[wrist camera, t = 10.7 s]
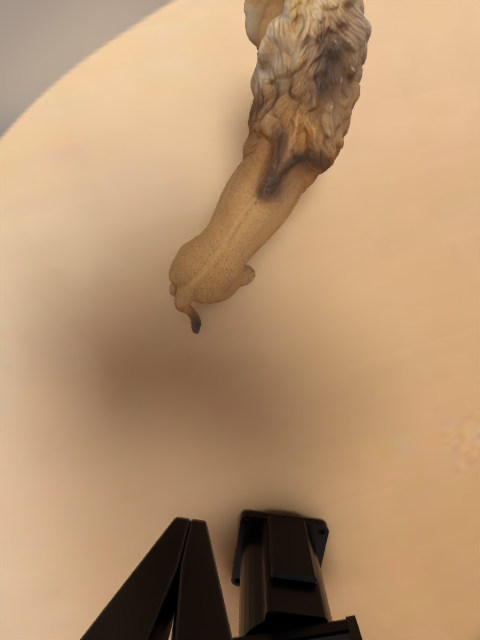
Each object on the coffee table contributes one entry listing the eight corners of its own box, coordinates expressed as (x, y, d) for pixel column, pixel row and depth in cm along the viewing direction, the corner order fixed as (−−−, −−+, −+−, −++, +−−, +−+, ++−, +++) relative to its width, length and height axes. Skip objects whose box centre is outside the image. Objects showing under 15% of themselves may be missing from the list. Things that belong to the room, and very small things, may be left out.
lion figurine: (255, 77, 16) (264, -135, 7) (341, 120, 17) (446, -36, 8) (161, 315, 19) (87, 363, 10) (236, 348, 20) (225, 421, 11)
